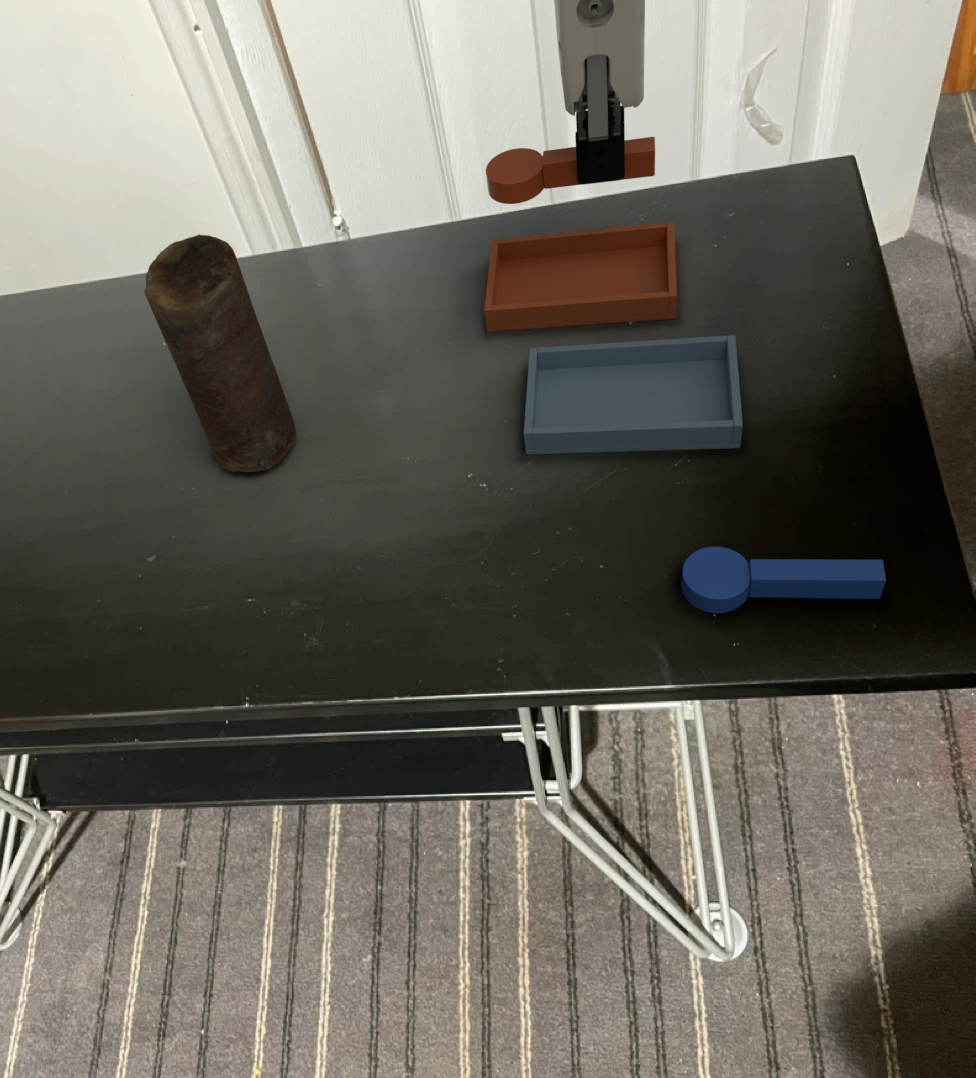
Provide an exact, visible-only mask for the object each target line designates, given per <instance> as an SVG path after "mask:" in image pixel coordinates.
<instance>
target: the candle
mask: <svg viewBox="0 0 976 1078" xmlns="http://www.w3.org/2000/svg"><path fill="white" fill-rule="evenodd" d="M143 293H144V296H145V298H146V300H147V302H148V304H149V307H150V309H151V311H152V314H153V316H154V318H155V321H156V323H157V325H158V327H159V330H160V333H161V335H162V336H163V337H162V338H163V339H164V342H165V343H166V347H167V348H168V351H169V353H170V356H171V357H172V360H173V362H174V364H175V366H176V368H177V371H178V373H179V375H180V378H181V381H182V383H183V385H184V388H185V389H186V392H187V394H188V396H189V398H190V401H191V404H192V406H193V408H194V410H195V413H196V416H197V417H198V420H199V422H200V425H201V427H202V430H203V432H204V434H205V437H206V440H207V441H208V444H209V446H210V448H211V450H212V453H213V455H214V457H215V460H216V462H217V463H218V464H219V466H220V467H221V468H222V469H224V470H227V471H228V472H232V473H237V472H238V473H239V472H242V473H256V472H257V473H258V472H262V471H267V470H270V469H273V467H274V466H276V465H278V464H279V463H280V462H281V461H282V460H283V459H284V457H285V456H286V455H287V453H289V451H290V450H291V448H292V446H293V444H294V443H295V440H296V438H297V429H296V425H295V421H294V419H293V415H292V413H291V410H290V406H289V404H288V400H287V398H286V395H285V392H284V390H283V389H284V388H283V387H282V386H283V385H282V383H281V381H280V378H279V375H278V372H277V370H276V367H275V365H274V362H273V359H272V356H271V353H270V350H269V348H268V345H267V342H266V339H265V336H264V333H263V331H262V328H261V325H260V323H259V322H260V321H259V319H258V317H257V313H256V311H255V307H254V305H253V302H252V299H251V296H250V293H249V290H248V287H247V284H246V282H245V279H244V276H243V273H242V269H241V267H240V264H239V261H238V258H237V255H236V253H235V250H234V248H233V247H232V246H231V245H230V244H229V242H227V241H225V240H223V239H221V238H218V237H217V236H211V235H209V234H208V235H206V234H200V233H199V234H197V235H193V236H190V237H187V238H184V239H182V240H178V241H177V240H176V241H174V242H172V243H170V244H169V245H167V246H166V247H165V248H164V249H163V250H161V251H160V252H159V254H157V256H156V257H155V259H154V260H153V261H152V262H151V263H150V265H149V266H148V269H147V271H146V273H145V289H144V290H143Z"/></svg>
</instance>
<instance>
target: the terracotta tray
mask: <svg viewBox="0 0 976 1078" xmlns="http://www.w3.org/2000/svg"><path fill="white" fill-rule="evenodd" d="M675 235H676V233H675V222H674V221H668V222H657V223H647V224H638V225H637V224H636V225H627V226H618V227H608V228H597V229H596V228H595V229H587V230H577V231H568V232H558V233H547V234H538V235H536V234H535V235H527V236H518V237H507V238H506V237H505V238H498V239H492V240H491V242H490V252H489V262H488V263H489V264H488V270H487V279H486V280H487V281H486V287H485V288H486V289H485V298H484V307H483V313H484V319H485V327H486V332H487V333H492V332H505V331H506V332H507V331H521V330H534V329H548V328H549V329H550V328H561V327H562V328H563V327H565V328H566V327H577V326H578V327H579V326H591V325H606V324H620V323H622V324H623V323H635V322H636V323H637V322H648V321H662V320H663V321H664V320H676V319H677V306H678V305H677V304H678V303H677V302H678V288H677V285H678V283H677V262H676V261H677V260H676V258H677V257H676V236H675Z"/></svg>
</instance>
